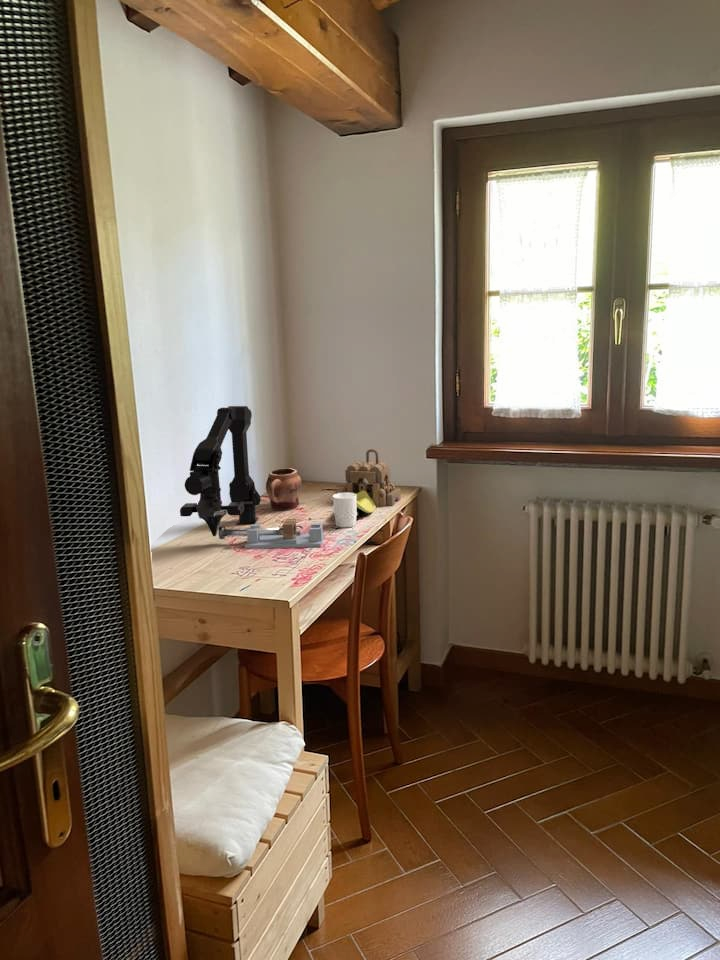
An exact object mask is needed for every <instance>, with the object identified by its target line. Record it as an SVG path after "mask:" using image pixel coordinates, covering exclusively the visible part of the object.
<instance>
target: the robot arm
mask: <svg viewBox="0 0 720 960" xmlns="http://www.w3.org/2000/svg"><path fill="white" fill-rule="evenodd" d="M252 418H253V415H252V411H251V409H249V407H248V406H246V405H229V406H227V407H220V408H217V411H216V417H215V419H214V421H213V423H212V425H211V428H210V429H209V431H208V434H207V436H206V438H205V439H204V440H201V441H200V442H199V443H198V444H197V446H196V448H195V449H194V452H193V455H192V459H191V463H190V467H189V477H187V478H186V480H185V481H184V488H185V491H186V492H187V493H188V494H190V495H192V496H198V495H199V497H200V498H199V500H198V503H197V502H189V503H188V502H186V503H185V504H184V505H182V506H181V507H180V510H179V515H180V517H191V516H192V515H193V514H194V513H197V515H198V518H199V519H202V520H203V521H204V522H205V523H206V524H207V527H208V529H209V531H210V533H211V535H212V537H216V536H217V533H218V532H219V527H220V524H221V520H222V519H223V518H224V517H225V515H227V514H228V515H229V516H238V520H237V521H236V525H256V523H257V522H258V520H259V519H260V517H259V516H257V515H256V507H257V506H259V505H261V499H262V498H261V495H260V493H259V492H258V491H257V489H256V485H255V481H254V480H253V479H252V477H251V475H250V472H249V471H250V470H249V468H250V467H249V453H248V452H249V451H248V437H247V435H248V434H247V432H248V430H249V428H250V426H251V424H252ZM228 430H229V432H230V433H231V443H232V457H233V458H232V459H233V471H234V472H233V473H234V477H233V478H232V479H231V480H232V481H230V482H229V484H228V486H229V492H228V494H229V498H230V503H229V504H228V505H223V501H222V496H221V491H222V487H221V485H220V476H219V475H220V474H219V471H220V470H221V469H222V468H221V466H220V463H221V460H222V455H223V449H222V445H223V443H224V440H225V438H226V435H227V433H228Z"/></svg>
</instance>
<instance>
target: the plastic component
mask: <svg viewBox="0 0 720 960" xmlns="http://www.w3.org/2000/svg"><path fill="white" fill-rule="evenodd" d="M356 495H357V509H359V510H361V511H362V512H364V513H366V514H370V513H373V512H374V511H375V509H376V508H377V507H376V506H375V504H374V502H373V501H372V499H371V498H370V497H369V495H368V494H367V492H366V491H361V492H359V493H357V494H356ZM358 515H359V512H358V511H357V516H358Z"/></svg>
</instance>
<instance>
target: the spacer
mask: <svg viewBox="0 0 720 960" xmlns="http://www.w3.org/2000/svg"><path fill="white" fill-rule="evenodd" d="M282 527H283V539H284V540H286V539H295V538H296V536H297V532H296V531H297V519H296V518H286V519H285V520H284V522H283V523H282Z"/></svg>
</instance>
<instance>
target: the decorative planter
mask: <svg viewBox="0 0 720 960" xmlns="http://www.w3.org/2000/svg"><path fill="white" fill-rule="evenodd" d="M267 476H268V477H267V479H266V484H265V491H266V494H267V496H268V499H269V501H270V507H271V509H272V510H275V511H289V510H293V509H296V508H297V507H298V506H299V505H300V500H299V492H300V490H301V486H302V479H301V477H300V476H299V474H298V470H297V469H294V468H291V467H287V468H278V469H275V470H272V471H270V472H269V473H268V475H267Z"/></svg>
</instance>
